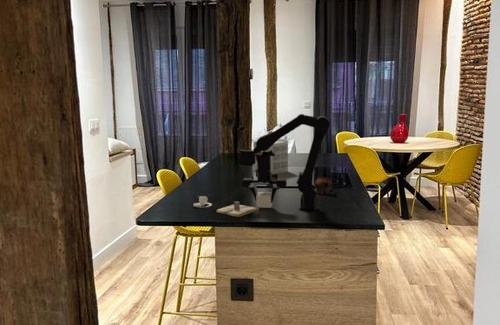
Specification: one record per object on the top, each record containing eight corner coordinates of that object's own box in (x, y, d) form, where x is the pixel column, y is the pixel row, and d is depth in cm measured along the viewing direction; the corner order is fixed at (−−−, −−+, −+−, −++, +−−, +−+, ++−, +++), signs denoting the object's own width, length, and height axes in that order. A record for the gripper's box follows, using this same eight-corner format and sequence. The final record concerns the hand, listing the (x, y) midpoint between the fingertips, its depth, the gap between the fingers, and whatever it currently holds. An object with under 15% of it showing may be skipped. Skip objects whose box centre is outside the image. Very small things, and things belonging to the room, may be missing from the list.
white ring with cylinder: (195, 209, 200) (195, 200, 199) (189, 205, 207) (189, 196, 206) (214, 206, 203) (214, 197, 203) (208, 202, 210) (207, 194, 210)
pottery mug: (307, 192, 226) (311, 177, 229) (322, 199, 230) (326, 183, 233) (323, 191, 216) (327, 174, 218) (338, 197, 220) (342, 181, 222)
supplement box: (253, 170, 282) (252, 141, 279) (268, 167, 291) (268, 139, 288) (272, 174, 269) (272, 143, 266) (288, 171, 278) (288, 141, 275)
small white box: (272, 203, 200) (272, 191, 199) (270, 207, 194) (270, 195, 193) (258, 203, 201) (258, 191, 200) (256, 207, 195) (256, 194, 194)
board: (257, 210, 195) (256, 201, 194) (238, 217, 186) (238, 207, 185) (235, 206, 203) (235, 197, 202) (216, 212, 193) (216, 202, 193)
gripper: (287, 163, 201) (288, 198, 203) (245, 162, 204) (245, 197, 206) (285, 167, 190) (285, 204, 193) (240, 167, 193) (241, 203, 195)
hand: (264, 202), depth 197 cm, fingers closed on small white box, 6 cm apart
